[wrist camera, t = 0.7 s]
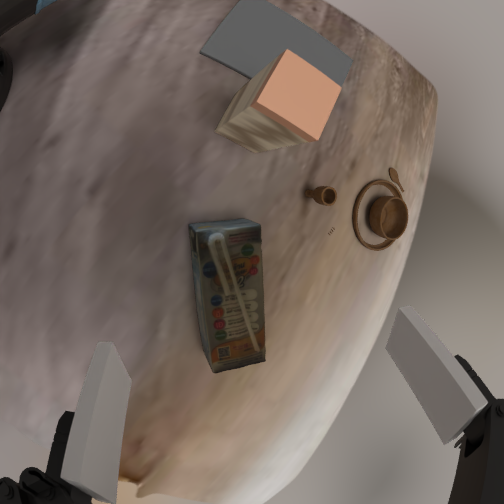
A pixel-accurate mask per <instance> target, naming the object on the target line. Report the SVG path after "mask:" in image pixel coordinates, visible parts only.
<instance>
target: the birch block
mask: <svg viewBox="0 0 504 504" xmlns="http://www.w3.org/2000/svg"><path fill="white" fill-rule="evenodd" d="M341 88H342V87H340V86H339V85H338V84H336V83H335V82H334V81H333V80H331V79H330V78H329V77H327V76H326V75H325V74H323V73H322V72H321V71H319V70H318V69H316V68H315V67H314V66H312V65H311V64H309V63H308V62H306V61H305V60H303V59H302V58H301V57H299V56H298V55H296V54H294V53H293V52H291V51H290V50H288V49H286V50H285V51H284V52H282V53H281V54H280V55H279V56H278V57H276V58H275V59H274V60H273V61H272V62H270V63H269V64H268V65H267V66H266V67H265V68H263V69H262V70H261V71H260V72H259V73H258V74H257V75H255V76H254V77H253V78H252V79H251V80H250V81H249V82H248V83H247V84H245V85H244V86H243V87H242V88H241V89H240V90H239V91H238V92H237V93H236V94H235V96H234V97H233V99H232V101H231V103H230V104H229V106H228V108H227V110H226V111H225V113H224V115H223V117H222V119H221V120H220V122H219V124H218V126H217V128H216V130H215V133H217V134H219V135H221V136H223V137H225V138H227V139H229V140H231V141H233V142H235V143H237V144H239V145H240V146H242V147H244V148H246V149H248V150H250V151H252V152H253V153H259V152H264V151H268V150H273V149H277V148H282V147H287V146H292V145H297V144H302V143H308V142H313V141H318V140H319V137H320V135H321V133H322V131H323V129H324V126H325V124H326V122H327V120H328V117H329V115H330V113H331V111H332V109H333V106H334V104H335V102H336V100H337V97H338V95H339V93H340V91H341Z"/></svg>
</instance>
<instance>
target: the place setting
mask: <svg viewBox="0 0 504 504" xmlns="http://www.w3.org/2000/svg"><path fill="white" fill-rule="evenodd" d="M389 173H390V177H391V179H392V180H393V181H394V182H395V183H397V184H398V185H399V187H400V189H401V191H402V192H404V190H403V188H402V186H401V184H400V182H399V179H398V174H397V171H396V170H395V169H393V168H390V170H389ZM377 184H379V185H384V186H385V187H387V188H388V189H389V190H390V191H391V192H392V193H393V195H394V197H393V196H383V197H380V198H379V199H377V200H376V201H375V202H374V204H373V205H372V207H371V210H370V216H369V219H370V225H371V228H372V230H373V231H374V232H375V233H376V234H377V235H379V236H380V237H383V238H386V239H387V240H385V241H384V242H383V243H381V244H378V245H370V244H367V243H366V242H364V241H363V239H362V238H361V236H360V233H359V229H358V223H357V216H358V208H359V205H360V202H361V199H362V197H363V195H364V194H365V192H366V191H367V190H368V189H369V188H370V187H371V186H372V185H377ZM305 195H306V196H307V197H311V198H314V200H315V201H316V202H317V203H319V204H322V205H326V206H331V205H333V204H334V203H335V202H336V199H337V193H336V191H335V189H334V188H332V187H328V186H320V187H317V188H316V189H315V190H306V192H305ZM407 223H408V209H407V206H406V204H405V202H404V201H403V199H402V196H401V194H400V192H399V190H398V189H397V187H396V186H395V185H394V184H392V183H391V182H389V181H386V180H377V181H373V182H371V183H369V184H368V185H367V186H365V187H364V188H363V190H362V191H361V192H360V194H359V196H358V198H357V200H356V202H355V206H354V211H353V225H354V230H355V233H356V235H357V237H358V239H359V240H360V242H361V243H362V244H363V245H364V246H365V247H367V248H369V249H371V250H375V251H379V250H384V249H386V248H387V247H389V246H390V245H391V244H392V243H393V242H394V241H395V240H396V239H398V238H399V237H400V236H401V235H402V234H403V233H404V231H405V229H406V226H407ZM333 229H334V228H333ZM331 230H332V229H331ZM334 230H335V229H334ZM332 231H333V230H332ZM330 233H331V231H330ZM331 234H332V233H331ZM329 235H330V234H329Z"/></svg>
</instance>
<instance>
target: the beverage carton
mask: <svg viewBox="0 0 504 504" xmlns="http://www.w3.org/2000/svg"><path fill="white" fill-rule="evenodd" d="M189 235H190V244H191V254H192V266H193V275H194V286H195V296H196V305H197V313H198V321H199V328H200V334H201V340H202V346H203V351H204V353H205V356H206V358H207V360H208V362H209V365H210V367H211V369H212V372H213V373H219V372H223V371H226V370H231V369H237V368H241V367H245V366H248V365H251V364H256V363H260V362H265V361H266V359H265V351H266V350H265V317H264V290H263V266H262V250H261V242H262V239H261V225H260V224H258V223H254V222H253V221H251V220H248V219H235V220H227V221H215V222H205V223H193V224H189Z"/></svg>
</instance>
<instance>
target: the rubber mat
mask: <svg viewBox="0 0 504 504" xmlns="http://www.w3.org/2000/svg"><path fill="white" fill-rule="evenodd" d="M286 49H288V50H290V51H291V52H293V53H294V54H296V55H298V56H299V57H301V58H302V59H303V60H305V61H306V62H308V63H309V64H311V65H312V66H314V67H315V68H316V69H318V70H319V71H321V72H322V73H323V74H325V75H326V76H327V77H329V78H330V79H331V80H333V81H334V82H335V83H336V84H338V85H339V86H340V87H342V85H343V83H344V80H345V78H346V76H347V74H348V71H349V69H350V67H351V64H352V62H353V60H352V59H351V58H350V57H349V56H347V55H346V54H345V53H344V52H342V51H341V50H340V49H339V48H337V47H336V46H335V45H333V44H332V43H331V42H329V41H328V40H327V39H325V38H324V37H323V36H321V35H320V34H318V33H317V32H316V31H314V30H313V29H311V28H310V27H308V26H307V25H305V24H304V23H302V22H301V21H299V20H298V19H296V18H295V17H293V16H291V15H290V14H288V13H286V12H285V11H283V10H281V9H280V8H278V7H276V6H275V5H273V4H271V3H269V2H268V1H266V0H240V1H239V2H238V3H237V4H236V6H235V7H234V8H233V9H232V10H231V12H230V13H229V14H228V15H227V16H226V18H225V19H224V20H223V21H222V23H221V24H220V25H219V27H218V28H217V29H216V31H215V32H214V33H213V34H212V36H211V37H210V39H209V40H208V41H207V43H206V44H205V45H204V47H203V48H202V50H201V51H200V54H202V55H204V56H207V57H209V58H211V59H213V60H215V61H217V62H219V63H221V64H223V65H225V66H227V67H229V68H231V69H232V70H234V71H236V72H238V73H240V74H242V75H244V76H245V77H247V78H249V79H252V78H253V77H254V76H255V75H257V74H258V73H259V72H260V71H261V70H262V69H263V68H265V67H266V66H267V65H268V64H269V63H270V62H272V61H273V60H274V59H275V58H276V57H278V56H279V55H280V54H281V53H282V52H284V51H285V50H286Z"/></svg>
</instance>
